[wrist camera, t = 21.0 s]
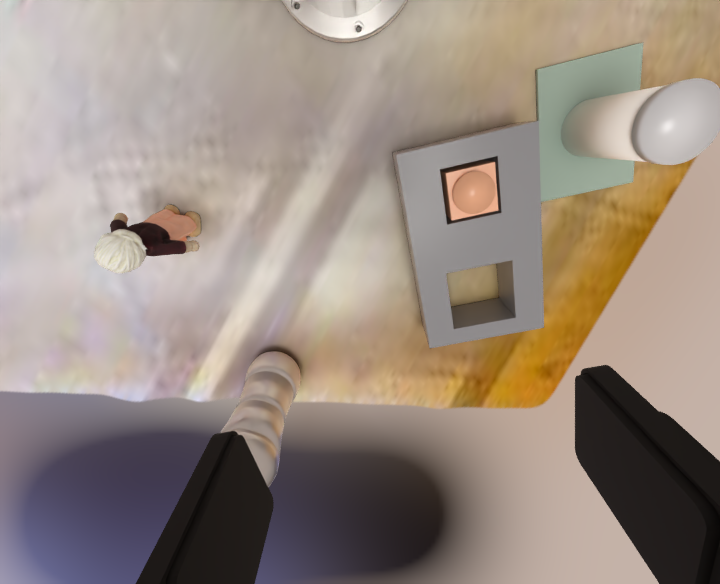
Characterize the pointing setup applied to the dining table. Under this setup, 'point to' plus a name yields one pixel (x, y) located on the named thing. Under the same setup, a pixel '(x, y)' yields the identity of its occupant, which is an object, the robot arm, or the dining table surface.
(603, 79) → the mat
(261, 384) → the plastic bottle
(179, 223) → the grandmother figurine
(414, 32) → the dining table surface
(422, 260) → the housing
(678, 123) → the cylinder
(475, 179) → the square push button
